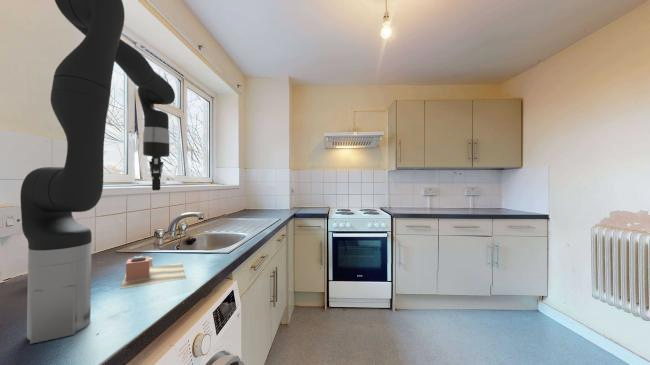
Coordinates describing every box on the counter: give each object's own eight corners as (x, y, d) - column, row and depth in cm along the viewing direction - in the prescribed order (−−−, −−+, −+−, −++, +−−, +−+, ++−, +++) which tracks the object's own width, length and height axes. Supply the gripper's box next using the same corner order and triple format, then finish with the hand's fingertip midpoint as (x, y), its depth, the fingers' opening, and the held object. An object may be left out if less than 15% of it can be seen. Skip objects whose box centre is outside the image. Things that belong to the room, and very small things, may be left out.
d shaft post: (142, 280, 81) (142, 257, 82) (133, 282, 80) (133, 258, 80) (143, 278, 84) (143, 255, 84) (133, 279, 82) (134, 256, 82)
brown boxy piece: (151, 276, 81) (152, 260, 81) (125, 280, 78) (126, 263, 78) (152, 271, 86) (152, 256, 86) (128, 275, 83) (128, 258, 83)
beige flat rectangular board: (185, 282, 81) (186, 277, 81) (119, 293, 72) (120, 288, 72) (182, 266, 96) (182, 262, 96) (127, 273, 88) (127, 269, 88)
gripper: (169, 140, 86) (169, 190, 86) (168, 145, 98) (168, 188, 98) (141, 138, 82) (141, 190, 82) (144, 143, 94) (144, 189, 94)
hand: (156, 189), depth 90 cm, fingers open, 8 cm apart
